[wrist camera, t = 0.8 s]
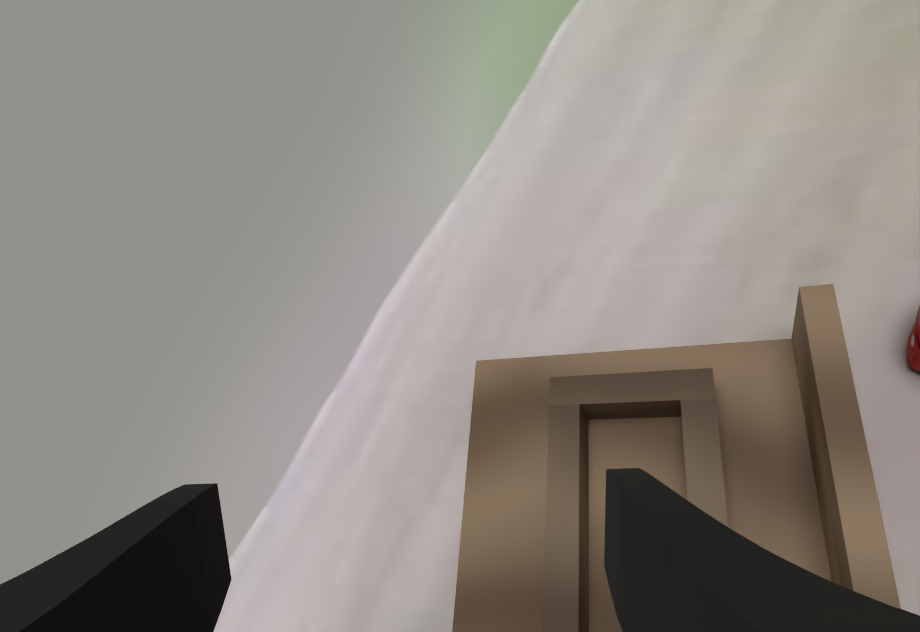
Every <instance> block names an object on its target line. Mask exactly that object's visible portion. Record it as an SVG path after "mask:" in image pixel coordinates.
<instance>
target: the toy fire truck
mask: <svg viewBox="0 0 920 632" xmlns="http://www.w3.org/2000/svg"><path fill="white" fill-rule="evenodd" d="M907 359H908V364H909V365H910V366H911V367H912V368H913V369H915V370H916V371H919V372H920V307H919V310H918V314H917V318H916V322H915V324H914V326H913V328H912V331H911V333H910V336H909V340H908V345H907Z"/></svg>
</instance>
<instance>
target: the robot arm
mask: <svg viewBox="0 0 920 632" xmlns="http://www.w3.org/2000/svg"><path fill="white" fill-rule="evenodd" d="M604 568H605V572H606V576H607V580H608V584H609V588H610V592H611V596H612V600H613V604H614V608H615V611H616V615H617V618H618V621H619V623H620V626H621V629H622V631H623V632H920V616H919V615H916V614H913V613H910V612H907V611H905V610H902V609H899V608H896V607H893V606H890V605H888V604H885V603H883V602H880V601H878V600H875V599H873V598H870V597H868V596H865V595H863V594H860V593H858V592H855V591H853V590H850V589H848V588H845V587H843V586H840V585H838V584H836V583H833V582H831V581H829V580H827V579H824V578H822V577H820V576H818V575H816V574H814V573H812V572H809V571H807V570H805V569H803V568H801V567H799V566H797V565H795V564H793V563H791V562H789V561H787V560H785V559H783V558H781V557H779V556H777V555H775V554H773V553H772V552H770V551H768V550H766V549H764V548H762V547H761V546H759V545H757V544H756V543H754V542H752V541H750V540H749V539H747V538H745V537H744V536H742V535H740V534H739V533H737V532H735V531H733V530H732V529H730V528H729V527H727V526H726V525H724V524H722V523H721V522H719V521H718V520H716V519H715V518H713V517H711V516H710V515H708V514H707V513H705V512H704V511H702V510H701V509H699V508H698V507H696V506H695V505H694V504H692V503H691V502H689V501H688V500H686V499H685V498H683V497H682V496H680V495H679V494H678V493H676V492H675V491H673V490H672V489H670V488H669V487H668V486H666V485H665V484H663V483H662V482H660V481H659V480H658V479H656V478H655V477H653V476H652V475H650V474H649V473H647V472H646V471H644V470H642V469H640V468H622V469H606V500H605V547H604ZM230 582H231V574H230V567H229V560H228V554H227V547H226V541H225V533H224V527H223V520H222V513H221V506H220V500H219V493H218V486H217V484H190V485H183V486H181V487H178V488H176V489H174V490H172V491H170V492H168V493H166V494H164V495H162V496H160V497H159V498H157V499H155V500H153V501H151V502H150V503H148V504H146V505H144V506H143V507H141V508H139V509H137V510H136V511H134V512H132V513H131V514H129V515H127V516H125V517H124V518H122V519H120V520H119V521H117V522H115V523H114V524H112V525H110V526H108V527H107V528H105V529H103V530H102V531H100V532H98V533H97V534H95V535H93V536H91V537H89V538H88V539H86V540H84V541H82V542H80V543H79V544H77V545H75V546H74V547H71V548H69V549H68V550H66V551H64V552H62V553H60V554H58V555H56V556H55V557H53V558H51V559H49V560H47V561H45V562H44V563H42V564H40V565H38V566H36V567H35V568H33V569H31V570H29V571H27V572H25V573H23V574H21V575H19V576H17V577H15V578H13V579H11V580H9V581H7V582H5V583H2V584H1V585H0V632H213V631H214V628H215V625H216V623H217V620H218V617H219V614H220V612H221V609H222V606H223V603H224V600H225V597H226V594H227V591H228V588H229V585H230Z"/></svg>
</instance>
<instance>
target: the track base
mask: <svg viewBox="0 0 920 632" xmlns="http://www.w3.org/2000/svg"><path fill="white" fill-rule="evenodd" d="M622 468H640V469H642V470H644V471H646V472H647V473H649V474H650V475H652V476H653V477H655V478H656V479H658V480H659V481H660V482H662V483H663V484H665V485H666V486H668V487H669V488H670V489H672V490H673V491H675V492H676V493H678V494H679V495H680V496H682V497H683V498H685V499H686V500H688V501H689V502H691V503H692V504H694V505H695V506H696V507H698V508H699V509H701V510H702V511H704V512H705V513H707V514H708V515H710V516H711V517H713V518H715V519H716V520H718V521H719V522H721V523H722V524H724V525H726V526H727V527H729V528H730V529H732V530H733V531H735V532H737V533H739V534H740V535H742V536H744V537H745V538H747V539H749V540H750V541H752V542H754V543H756V544H757V545H759V546H761V547H762V548H764V549H766V550H768V551H770V552H772V553H773V554H775V555H777V556H779V557H781V558H783V559H785V560H787V561H789V562H791V563H793V564H795V565H797V566H799V567H801V568H803V569H805V570H807V571H809V572H812V573H814V574H816V575H818V576H820V577H822V578H824V579H827V580H829V581H831V582H833V583H836V584H838V585H840V586H843V587H845V588H848V589H850V590H853V591H855V592H858V593H860V594H863V595H865V596H868V597H870V598H873V599H875V600H878V601H880V602H883V603H885V604H888V605H890V606H893V607H896V608H899V609H901V608H900V603H899V599H898V594H897V589H896V584H895V579H894V574H893V570H892V565H891V560H890V555H889V550H888V546H887V541H886V536H885V531H884V526H883V522H882V517H881V512H880V507H879V502H878V498H877V493H876V488H875V483H874V478H873V473H872V469H871V464H870V459H869V454H868V449H867V445H866V440H865V435H864V430H863V425H862V421H861V416H860V411H859V406H858V401H857V397H856V392H855V387H854V382H853V377H852V372H851V368H850V363H849V358H848V353H847V348H846V344H845V339H844V334H843V329H842V324H841V320H840V315H839V310H838V305H837V300H836V296H835V291H834V286H833V284H828V285H817V286H807V287H799V292H798V299H797V306H796V313H795V319H794V326H793V333H792V339H782V340H768V341H754V342H739V343H725V344H711V345H697V346H682V347H668V348H654V349H639V350H625V351H611V352H596V353H582V354H568V355H554V356H539V357H525V358H511V359H496V360H482V361H476V368H475V380H474V391H473V403H472V414H471V426H470V437H469V449H468V460H467V472H466V483H465V494H464V506H463V517H462V529H461V540H460V552H459V563H458V575H457V586H456V598H455V609H454V621H453V632H623V631H622V629H621V626H620V623H619V621H618V618H617V615H616V611H615V608H614V604H613V600H612V596H611V592H610V588H609V584H608V580H607V576H606V572H605V568H604V547H605V500H606V469H622Z"/></svg>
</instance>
